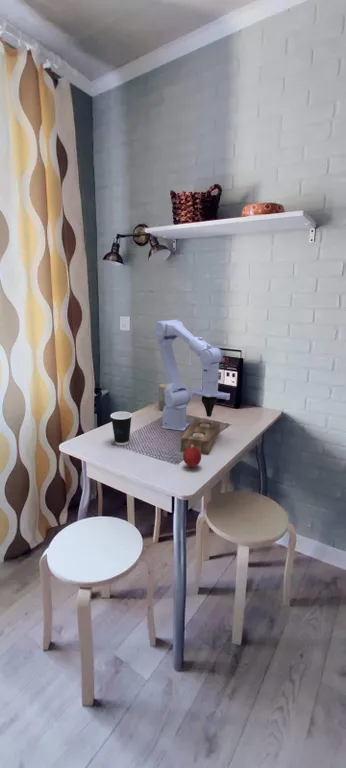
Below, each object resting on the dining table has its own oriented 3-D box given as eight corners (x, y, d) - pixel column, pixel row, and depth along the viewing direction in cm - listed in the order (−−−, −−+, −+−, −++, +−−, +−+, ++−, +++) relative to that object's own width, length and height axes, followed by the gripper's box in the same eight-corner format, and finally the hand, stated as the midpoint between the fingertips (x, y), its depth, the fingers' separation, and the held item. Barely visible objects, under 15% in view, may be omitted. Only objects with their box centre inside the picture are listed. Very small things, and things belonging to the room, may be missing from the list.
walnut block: (180, 450, 139) (181, 437, 137) (194, 430, 157) (195, 419, 156) (208, 454, 136) (208, 441, 134) (219, 433, 154) (219, 421, 153)
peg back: (197, 437, 150) (198, 426, 148) (200, 433, 153) (200, 422, 152) (208, 438, 148) (208, 427, 147) (210, 434, 152) (210, 424, 151)
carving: (155, 410, 182) (155, 385, 179) (164, 405, 188) (164, 382, 185) (166, 412, 178) (166, 387, 175) (175, 408, 184) (175, 384, 181)
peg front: (191, 447, 140) (191, 436, 139) (194, 443, 144) (194, 432, 143) (202, 449, 139) (202, 437, 138) (204, 444, 143) (204, 433, 142)
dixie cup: (131, 437, 150) (130, 410, 147) (134, 445, 142) (133, 417, 140) (110, 439, 148) (109, 412, 145) (112, 448, 141) (111, 419, 138)
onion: (190, 461, 130) (190, 439, 128) (204, 466, 127) (205, 444, 125) (179, 467, 126) (179, 445, 124) (193, 473, 122) (194, 450, 120)
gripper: (188, 381, 140) (187, 416, 144) (227, 385, 136) (226, 421, 139) (193, 377, 147) (192, 411, 150) (231, 380, 142) (229, 415, 146)
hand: (209, 415), depth 145 cm, fingers closed
